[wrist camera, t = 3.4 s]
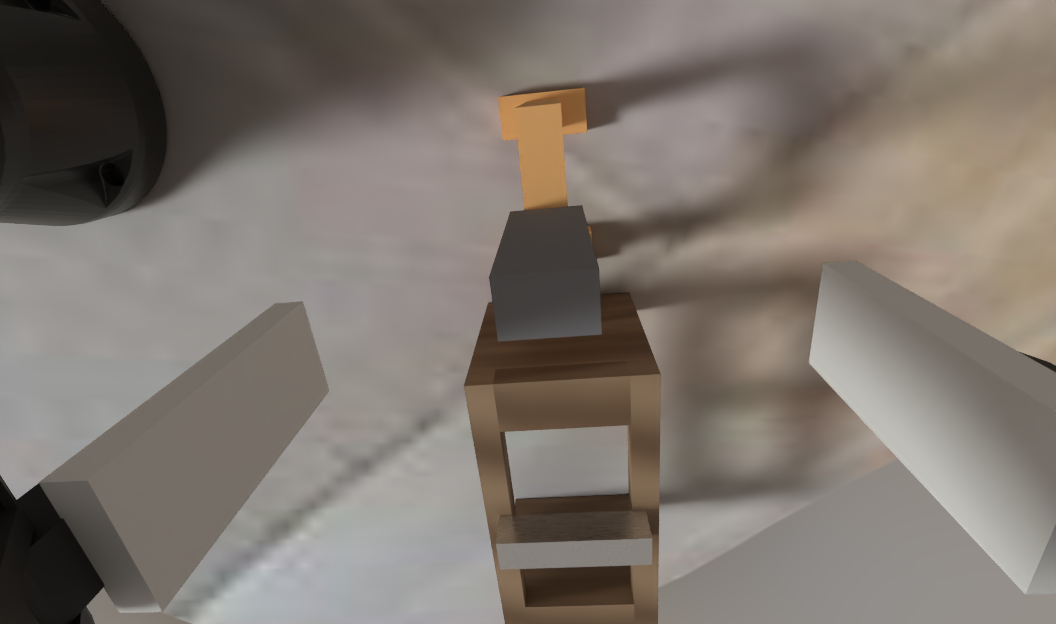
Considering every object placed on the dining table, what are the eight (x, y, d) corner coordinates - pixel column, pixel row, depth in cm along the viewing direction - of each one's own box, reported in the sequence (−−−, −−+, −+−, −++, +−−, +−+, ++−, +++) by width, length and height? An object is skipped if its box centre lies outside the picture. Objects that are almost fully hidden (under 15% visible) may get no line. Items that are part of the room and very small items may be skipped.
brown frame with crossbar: (488, 302, 36) (464, 386, 26) (629, 292, 35) (660, 374, 25) (517, 512, 44) (507, 637, 34) (632, 507, 43) (657, 634, 33)
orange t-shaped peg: (500, 96, 30) (424, 108, 12) (583, 87, 30) (634, 86, 12) (519, 265, 35) (484, 462, 16) (591, 259, 34) (638, 455, 16)
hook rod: (499, 515, 29) (495, 544, 28) (645, 509, 29) (652, 538, 27) (503, 540, 30) (500, 569, 28) (645, 535, 30) (652, 564, 28)
